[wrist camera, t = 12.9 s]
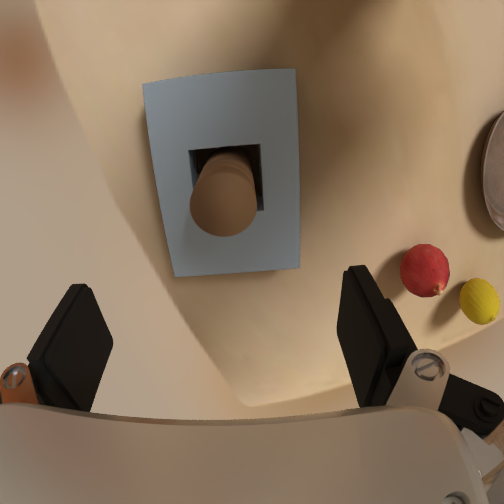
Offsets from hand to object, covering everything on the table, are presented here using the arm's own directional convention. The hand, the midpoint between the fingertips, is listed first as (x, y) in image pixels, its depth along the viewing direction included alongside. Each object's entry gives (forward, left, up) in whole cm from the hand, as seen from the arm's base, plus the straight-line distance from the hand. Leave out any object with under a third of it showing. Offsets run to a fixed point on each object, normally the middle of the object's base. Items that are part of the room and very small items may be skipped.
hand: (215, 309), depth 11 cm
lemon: (-31, +17, -21) cm, 41 cm away
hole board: (0, 0, -21) cm, 21 cm away
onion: (-20, +11, -21) cm, 31 cm away
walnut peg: (0, 0, -21) cm, 21 cm away
